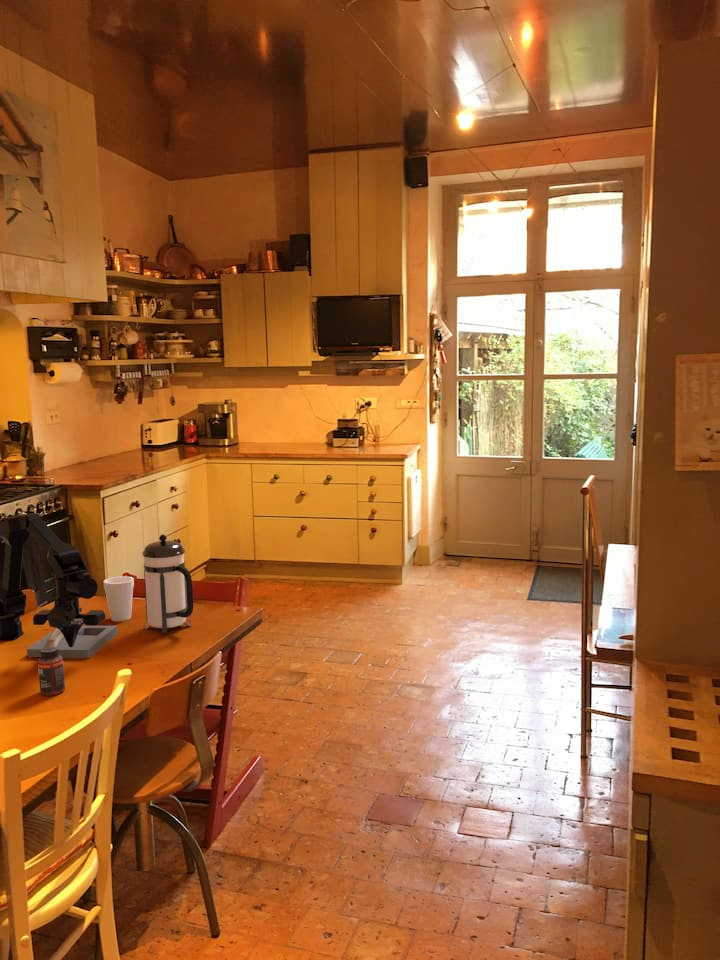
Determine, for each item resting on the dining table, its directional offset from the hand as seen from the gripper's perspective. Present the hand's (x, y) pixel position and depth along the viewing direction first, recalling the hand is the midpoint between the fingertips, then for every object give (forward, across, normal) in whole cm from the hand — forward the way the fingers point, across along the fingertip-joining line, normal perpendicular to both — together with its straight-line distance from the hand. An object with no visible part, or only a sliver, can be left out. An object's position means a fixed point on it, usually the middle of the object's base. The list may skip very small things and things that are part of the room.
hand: (71, 646), depth 216 cm
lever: (+1, -8, +9) cm, 12 cm away
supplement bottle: (+4, +6, -22) cm, 23 cm away
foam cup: (+4, 0, +36) cm, 37 cm away
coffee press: (+4, +20, +27) cm, 34 cm away
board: (+4, -4, +11) cm, 12 cm away
